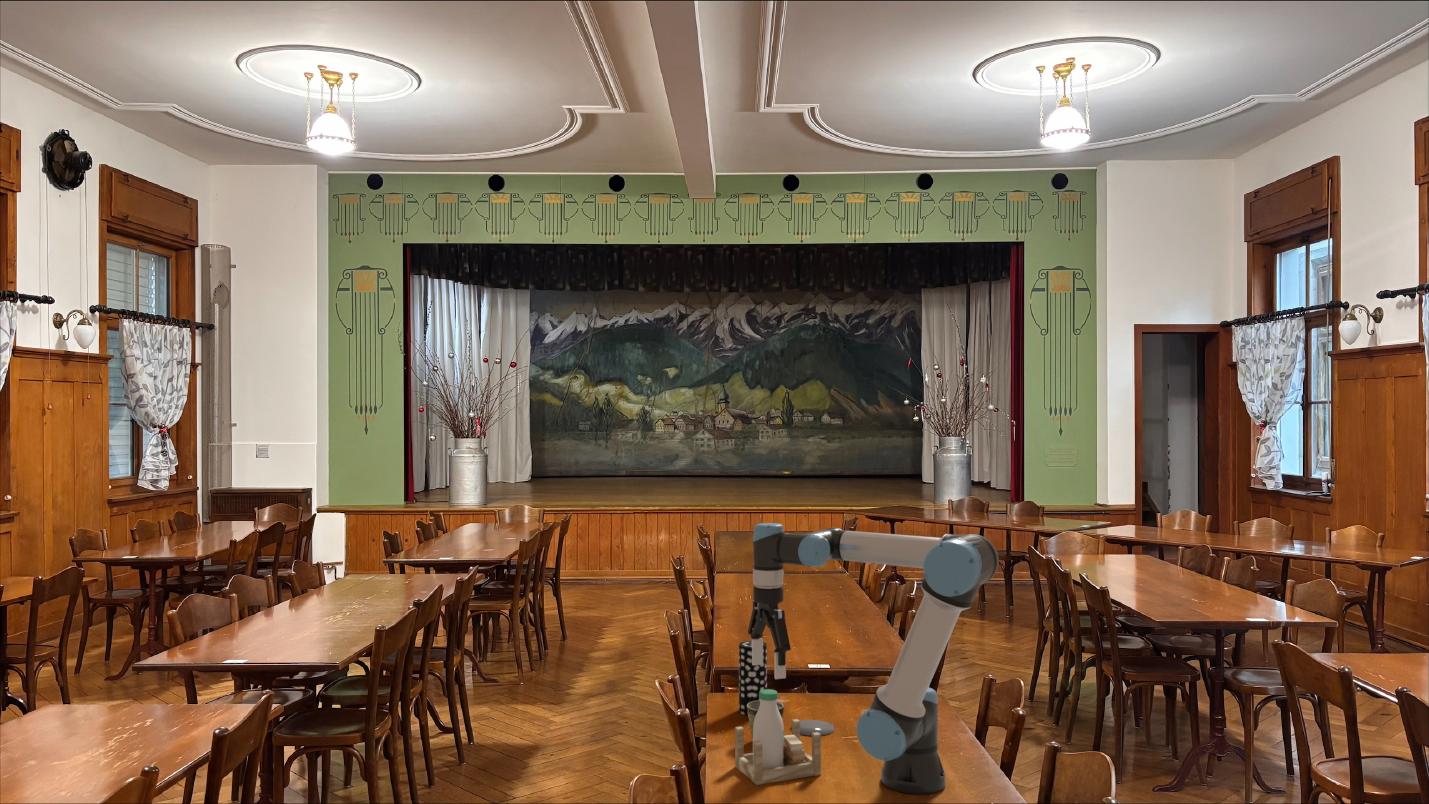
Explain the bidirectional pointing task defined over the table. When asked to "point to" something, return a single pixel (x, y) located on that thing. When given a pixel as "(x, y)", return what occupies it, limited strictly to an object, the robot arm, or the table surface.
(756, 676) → the spotted tube
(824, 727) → the grey round disc
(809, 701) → the table surface
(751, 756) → the rack
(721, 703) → the table surface
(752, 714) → the ceramic cup
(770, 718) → the milk bottle
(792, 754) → the offcut stack
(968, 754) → the table surface
